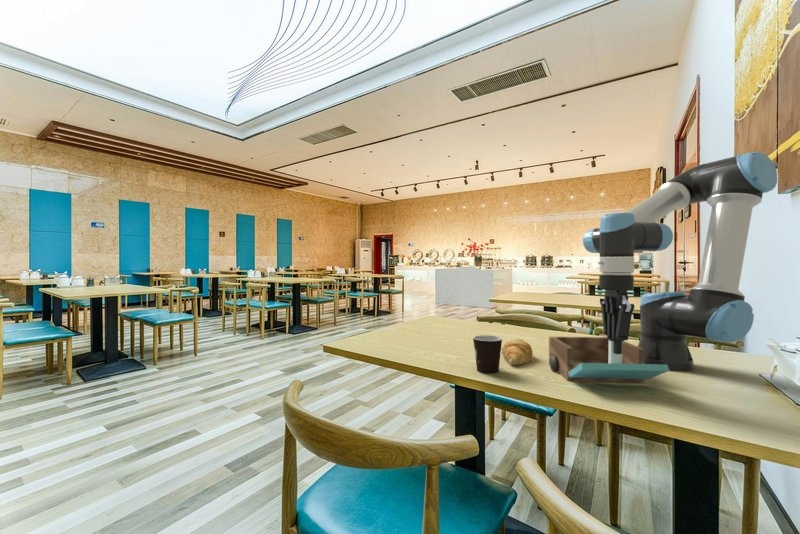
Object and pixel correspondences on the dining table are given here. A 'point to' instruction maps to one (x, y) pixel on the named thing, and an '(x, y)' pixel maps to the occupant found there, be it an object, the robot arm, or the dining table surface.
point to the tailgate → (617, 371)
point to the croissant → (517, 352)
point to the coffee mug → (487, 353)
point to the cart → (589, 355)
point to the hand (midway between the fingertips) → (615, 365)
